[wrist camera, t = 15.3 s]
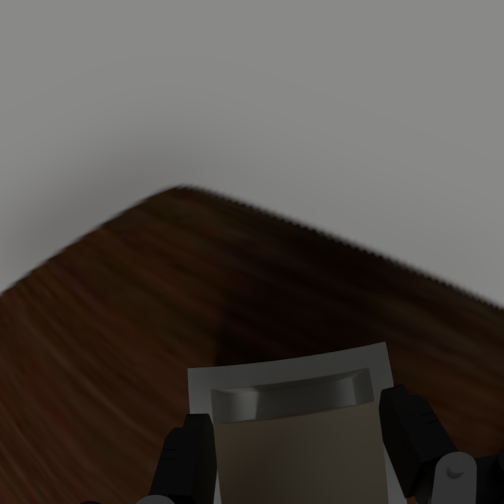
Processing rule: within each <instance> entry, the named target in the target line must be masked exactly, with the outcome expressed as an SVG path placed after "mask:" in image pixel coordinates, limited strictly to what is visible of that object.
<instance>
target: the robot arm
mask: <svg viewBox="0 0 504 504" xmlns="http://www.w3.org/2000/svg"><path fill="white" fill-rule="evenodd" d="M378 410H379V417H380V424H381V431H382V439H383V443H384V446H385V448H386V451H387V453H388V456H389V458H390V461H391V464H392V466H393V469H394V471H395V474H396V477H397V479H398V482H399V485H400V487H401V490H402V493H403V495H404V498H405V499H406V498H409V497H412V496H415V498H416V501H417V503H416V504H504V447H503V448H502V449H501V451H500V453H499V454H498V455H493V456H488V457H482V458H472V457H471V456H470V455H468V454H466V453H463V452H459V451H458V450H457V449H456V447H455V446H454V444H453V442H452V441H451V439H450V437H449V436H448V434H447V432H446V431H445V429H444V427H443V426H442V424H441V422H440V421H438V418H437V416H436V414H435V413H434V412H433V410H432V408H431V406H430V405H429V403H428V402H427V401H426V400H425V399H423V398H422V397H420V396H419V395H417V394H416V395H412V396H409V394H408V392H407V391H406V389H405V387H404V386H403V385H398V386H394V387H390V388H386V389H382V391H381V394H380V402H379V409H378ZM162 449H163V451H162V452H161V455H160V460H159V462H158V465H157V469H156V472H155V475H154V479H153V482H152V486H151V489H150V492H149V494H148V496H147V497H144V498H142V499H141V500H139V501H138V502H137V503H136V504H214V495H215V486H216V478H217V469H218V468H217V458H216V449H215V438H214V428H213V424H212V421H211V418H210V415H209V414H208V413H203V414H187V415H186V418H185V422H184V425H183V428H173V430H172V431H171V432H170V433H169V434H168V435H167V437H166V438H165V442H164V445H163V448H162ZM80 504H100V503H98V502H95V501H86V502H83V503H80Z"/></svg>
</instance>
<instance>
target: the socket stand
mask: <svg viewBox="0 0 504 504" xmlns="http://www.w3.org/2000/svg"><path fill="white" fill-rule="evenodd" d="M188 386H189V404H190V414H203V413H208V414H209V415H210V418H211V421H212V424H220V423H228V422H236V421H243V420H249V419H256V418H266V417H275V416H283V415H290V414H298V413H304V412H311V411H317V410H322V409H328V408H336V407H343V406H350V405H356V404H362V403H368V402H374V401H377V403H378V409H379V402H380V394H381V391H382V389H386V388H390V387H394V384H393V378H392V373H391V367H390V362H389V357H388V352H387V347H386V342H382V343H377V344H373V345H368V346H363V347H358V348H353V349H347V350H342V351H336V352H331V353H325V354H319V355H313V356H306V357H299V358H293V359H285V360H278V361H270V362H261V363H252V364H242V365H232V366H220V367H206V368H190V369H188ZM383 448H384V456H385V466H386V477H387V489H388V503H389V504H407V499H405V498H404V495H403V493H402V490H401V487H400V485H399V482H398V479H397V477H396V474H395V471H394V469H393V466H392V464H391V461H390V458H389V456H388V453H387V451H386V448H385V446H384V443H383ZM214 504H222V502H221V494H220V485H219V477H218V469H217V478H216V486H215V495H214Z"/></svg>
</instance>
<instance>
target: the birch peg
mask: <svg viewBox="0 0 504 504" xmlns="http://www.w3.org/2000/svg"><path fill="white" fill-rule="evenodd" d="M213 428H214V438H215V449H216V458H217V468H218V477H219V485H220V494H221V502H222V504H389V503H388V489H387V477H386V466H385V456H384V448H383V439H382V431H381V424H380V417H379V410H378V403H377V401H374V402H368V403H362V404H356V405H350V406H343V407H336V408H328V409H322V410H317V411H311V412H304V413H298V414H290V415H283V416H275V417H266V418H256V419H249V420H243V421H236V422H228V423H220V424H213Z"/></svg>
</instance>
